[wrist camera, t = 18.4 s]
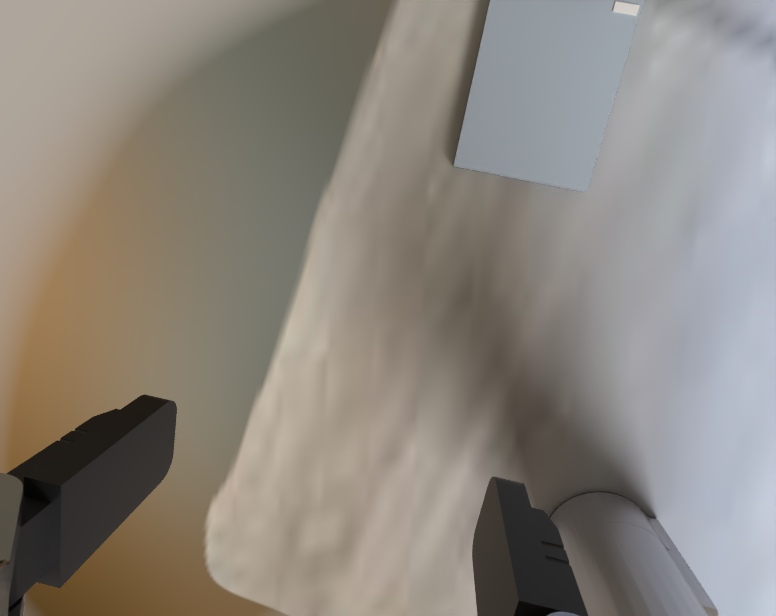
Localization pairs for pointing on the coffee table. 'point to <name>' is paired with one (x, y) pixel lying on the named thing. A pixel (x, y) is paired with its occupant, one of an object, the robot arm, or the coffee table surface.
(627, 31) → the wall panel
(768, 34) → the coffee table surface
